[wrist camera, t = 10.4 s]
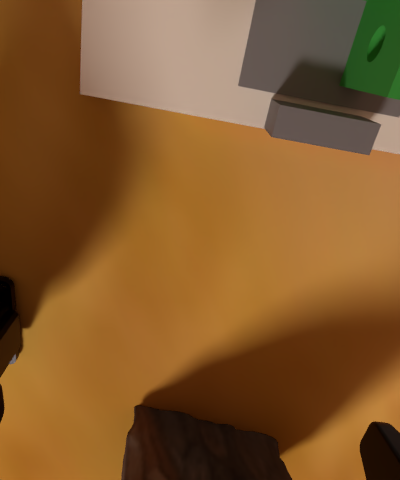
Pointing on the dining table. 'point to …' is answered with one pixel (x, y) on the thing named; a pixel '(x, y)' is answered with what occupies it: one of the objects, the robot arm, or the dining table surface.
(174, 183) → the dining table surface
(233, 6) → the door panel
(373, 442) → the robot arm
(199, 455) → the grey brown rock block
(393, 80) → the green angled block
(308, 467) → the dining table surface
